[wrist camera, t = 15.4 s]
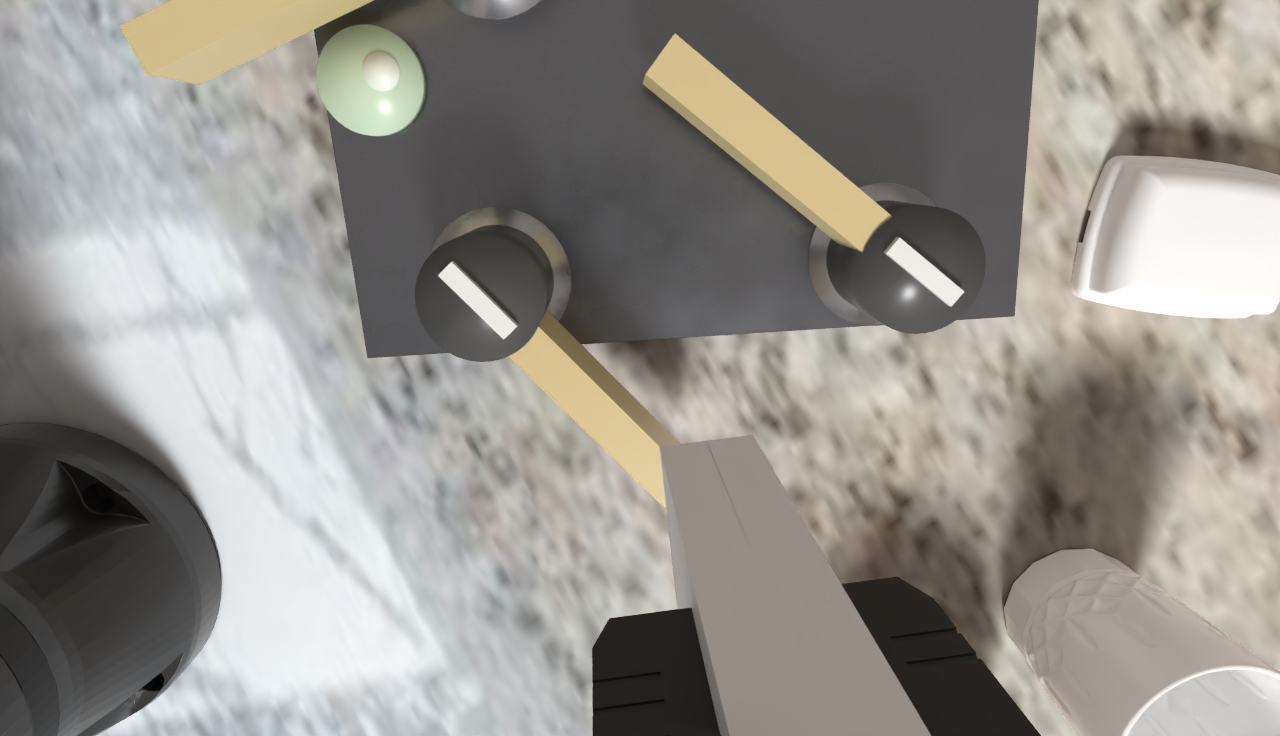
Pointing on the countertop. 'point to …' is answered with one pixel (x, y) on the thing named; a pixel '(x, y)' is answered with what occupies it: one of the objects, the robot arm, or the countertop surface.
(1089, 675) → the white cup
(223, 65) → the knob
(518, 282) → the knob
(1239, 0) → the countertop surface
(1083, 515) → the countertop surface
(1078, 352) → the countertop surface
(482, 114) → the dark grey knob panel
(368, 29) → the green domed button
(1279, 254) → the soap
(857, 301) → the knob
